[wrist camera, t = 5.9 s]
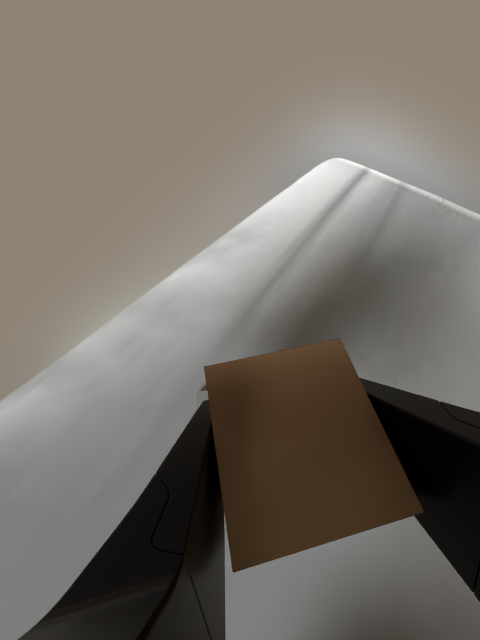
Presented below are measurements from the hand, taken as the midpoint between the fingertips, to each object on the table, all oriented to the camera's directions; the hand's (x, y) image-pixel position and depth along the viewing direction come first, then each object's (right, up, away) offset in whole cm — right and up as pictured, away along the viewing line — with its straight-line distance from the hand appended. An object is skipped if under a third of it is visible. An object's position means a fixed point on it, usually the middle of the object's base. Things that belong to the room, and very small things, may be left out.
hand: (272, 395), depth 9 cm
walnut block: (0, -5, +5) cm, 7 cm away
